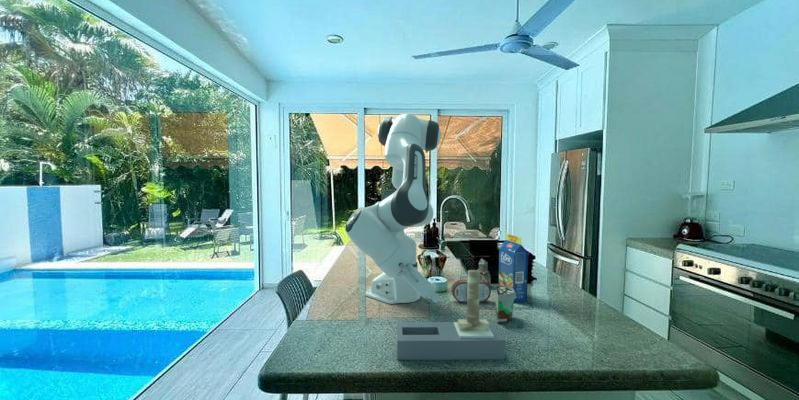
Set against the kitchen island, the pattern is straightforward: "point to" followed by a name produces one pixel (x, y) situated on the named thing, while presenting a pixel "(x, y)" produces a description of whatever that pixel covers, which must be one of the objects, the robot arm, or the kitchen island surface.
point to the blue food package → (514, 267)
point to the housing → (447, 342)
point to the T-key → (473, 306)
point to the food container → (504, 303)
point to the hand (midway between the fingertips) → (431, 294)
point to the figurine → (484, 272)
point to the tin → (461, 290)
